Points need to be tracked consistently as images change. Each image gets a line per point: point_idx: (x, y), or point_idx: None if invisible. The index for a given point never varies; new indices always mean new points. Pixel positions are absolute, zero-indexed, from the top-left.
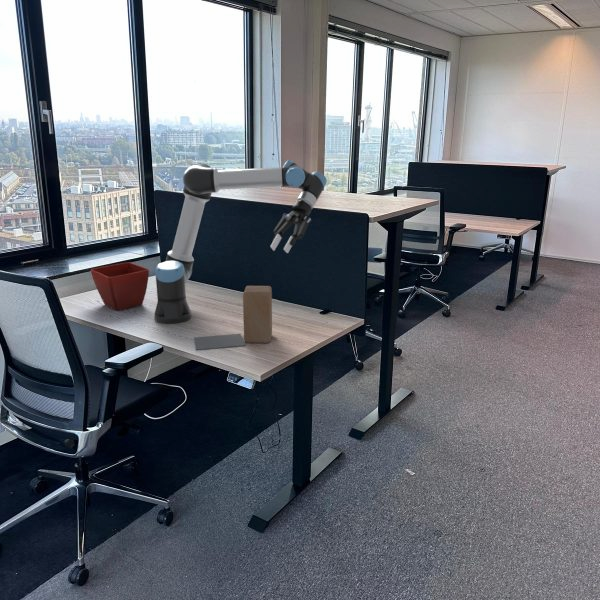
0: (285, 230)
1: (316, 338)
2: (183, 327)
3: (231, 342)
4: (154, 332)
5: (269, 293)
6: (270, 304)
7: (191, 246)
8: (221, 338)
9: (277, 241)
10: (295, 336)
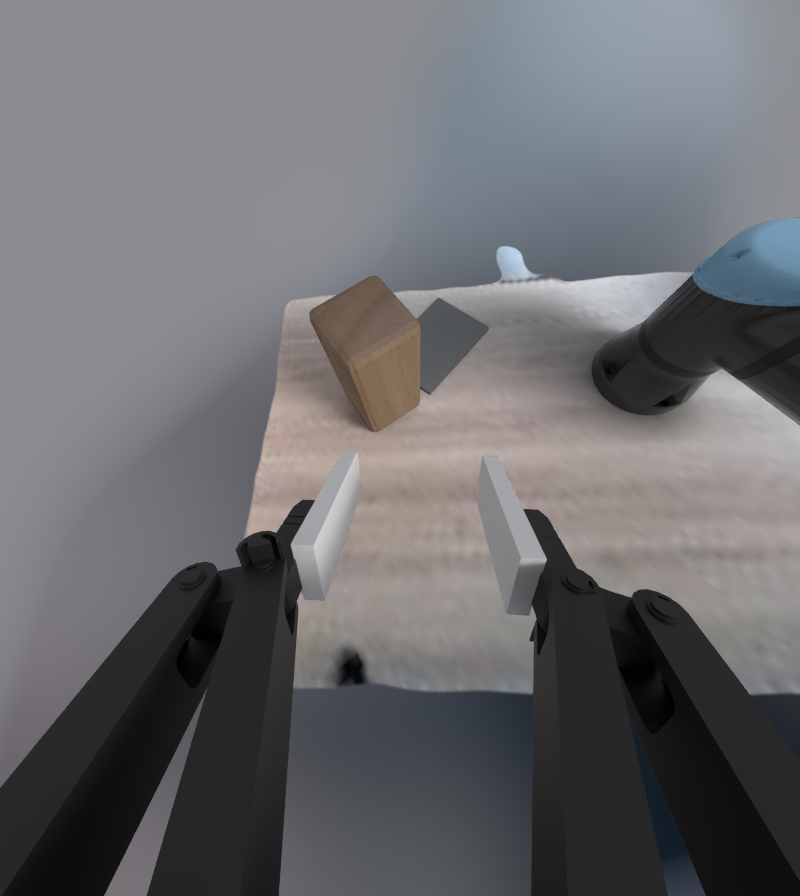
0: (536, 747)
1: (276, 474)
2: (559, 352)
3: None
4: (576, 305)
5: (310, 317)
6: (326, 351)
7: None
8: (441, 353)
9: (494, 533)
10: (323, 456)
